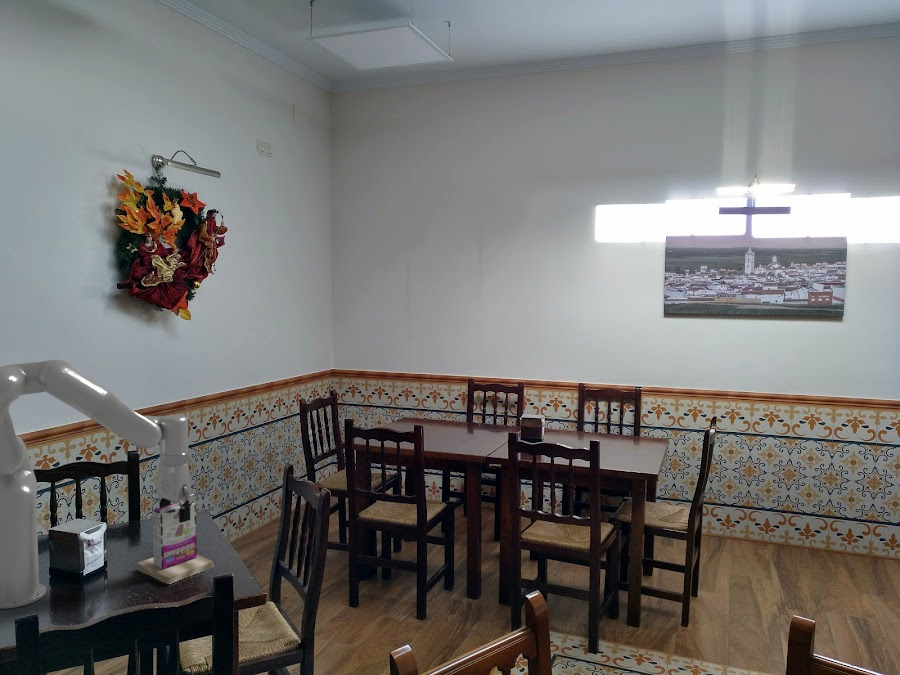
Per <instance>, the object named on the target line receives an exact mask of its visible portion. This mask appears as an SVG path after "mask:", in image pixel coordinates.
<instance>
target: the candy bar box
mask: <svg viewBox="0 0 900 675" xmlns="http://www.w3.org/2000/svg"><path fill="white" fill-rule="evenodd" d="M182 502H183V504H184V502H185V500H183V501H182ZM191 505H192V506H191V507H190V520H189V521H186V522H182V523H180V522H179V509H180V505H179V503H178V502H175V503H173V504H172V503H171V505H169V506H165V507H162V508H159V507H158V508H156V509H152V513H151V514H152V517H151V518H152V544H153V545H152V549H153V551H152V553H153V557H154V566H156V567H158V568H160V569H166V568H169V567H171V566H174V565H177V564H180V563H183V562H185V561H188V560H191V559H194V558H196V557H197V555H198V549H197V548H198V547H197V546H198V545H197V504H196V503H195V502H193V503H192V504H191ZM153 557H152V558H153Z"/></svg>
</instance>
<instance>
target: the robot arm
mask: <svg viewBox="0 0 900 675" xmlns="http://www.w3.org/2000/svg"><path fill="white" fill-rule="evenodd" d="M40 393H47V394H49V395H50V396H52V397H54V398H55V399H57V400H59V401H61V402H63V404H66V405H67V406H70V407H71V408H73V409H74V410H76V411H78V412H79V413H81V414H83V415H84V416H86V417H87V418H89V419H91V420H92V421H94V422H95V423H97V424H98V425H101V426H102V427H103V428H105V429H106V430H108V431H110V432H111V433H113V434H115V435H116V436H118V437H120V438H121V439H123V440H124V441H126V442H128V443H130V444H131V445H133V446H135V447H137V448H139V449H142V450H145V449H146V450H147V449H151V448H154V447H156V446H157V445H158V444H159V464H158V470H157V478H156V479H157V480H156V483H155V488H156V495H157V496H158V498H157V499H158V502H159V503H158V504H159V507H158V508H162V507H165V506H169V505H172V503H171V502H173V503H179V505H180V509H179V522H180V523H182V522H186V521H189V520H190V507H191V506H192V505H191V504H192V503H194V498H195V494H194V492H193V491H192V490H191V476H190V469H189V420H188V418H187V417H186V416H185V415H181V414H170V415H165V416H163V415H162V416H157V415H141V414H139V413H138V412H136V411H135V410H134V409H132V408H131V407H129V406H127V405H126V404H125V403H123V402H122V401H121V400H120V399H119V398H118V397H117V396H116V395H115V394H114V393H113V392H112V391H111V390H109V389H108V388H107V387H104V386H103V385H101V384H99V383H98V382H96V381H94V380H93V379H91V378H89V377H88V376H86V375H84V374H83V373H82V372H80V371H78V370H77V369H75V368H74V367H73V365H72V364H71V363H69V362H68V361H66V360H62V359H50V360H43V361H35V362H26V363H16V364H15V363H14V364H8V365H6V364H5V365H1V366H0V610H2V609H5V610H6V609H13V608H21V607H24V606H27V605H30V604H33V603H35V602H37V601H39V600H40V599H41V598H43V597H44V596H45V595H46V593H47V588H46V586H45V585H44V584H42V583H40V582H39V581H40V580H39V577H40V576H39V574H40V572H39V548H38V547H39V545H38V544H39V543H38V541H39V540H38V521H37V520H38V518H37V493H38V481H37V479H36V478H37V477H36V474H35V471H34V468H33V465H32V462H31V459H30V455H29V452H28V448H27V446H26V443H25V442H24V440H23V439H22V438H21V437H20V436H19V435H17V434H16V432H15V428H14V425H13V424H14V423H13V421H12V417H11V415H10V412H9V411H10V406H11V405H12V404H13V403H14V402H15V401H17V399H19V398H20V397H21V396H25V395H33V394H40ZM183 501H185V502H184V504H183Z"/></svg>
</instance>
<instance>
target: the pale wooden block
mask: <svg viewBox="0 0 900 675" xmlns="http://www.w3.org/2000/svg"><path fill="white" fill-rule="evenodd" d="M214 566H215V564H214V561H213V560H211V559H209V558H206V557H204V556H202V555H199V554H197V557H196V558H194V559H191V560H188V561H185V562H183V563H180V564H177V565H174V566H171V567H169V568H166V569H160V568H158V567H156V566H154V557H149V558H147V559H144V560H142V561H138V562H137V571H138V570H139V571H138V572H140V571H141V572H140V573H142V572H143V573H142V574H144V573H145V575H146V574H148V575H150V576H152V577H154V578H156V579H158V580H160V581H162V582H165V583H167V584H172V583H174V582H177V581H179V580H182V579H184V578H187V577H189V576H192V575H194V574H197V573H200V572H202V571H205V570H208V569H211V568H215V567H214ZM148 575H147V576H148ZM150 576H149V577H150ZM152 577H151V578H152ZM154 578H153V579H154ZM156 579H155V580H156ZM158 580H157V581H158ZM160 581H159V582H160ZM162 582H161V583H162Z"/></svg>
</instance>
